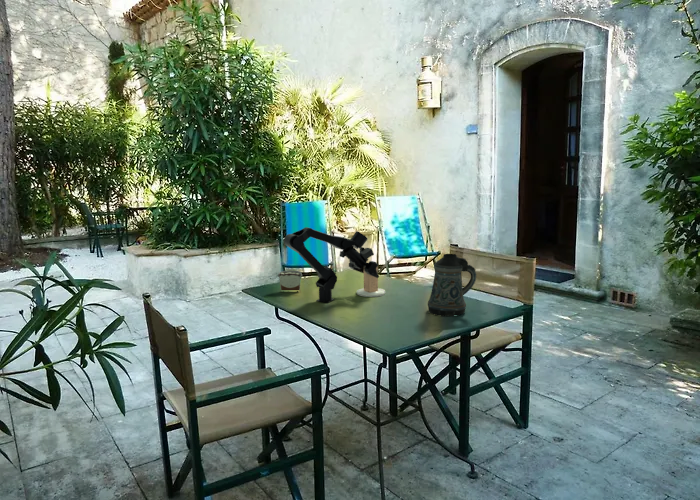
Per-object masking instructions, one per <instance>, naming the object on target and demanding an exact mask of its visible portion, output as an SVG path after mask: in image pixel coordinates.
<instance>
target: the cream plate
mask: <svg viewBox="0 0 700 500" xmlns="http://www.w3.org/2000/svg"><path fill="white" fill-rule="evenodd" d="M385 294H386V290H385V288H379V287H378V291H377V292H371V293H369V292H366V291H364V287H363V288H359V289H357V290H356V295H358V296H360V297H367V298H375V297H377V298H378V297H382V296H385Z"/></svg>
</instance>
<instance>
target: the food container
mask: <svg viewBox="0 0 700 500" xmlns="http://www.w3.org/2000/svg"><path fill="white" fill-rule="evenodd" d="M277 277H278V279H279V280H278V281H279V286H280V287H279V288H280V291H281V290H300V291H301V281H302V280H301V279H302V277H303V274H302V272H301V271H299V270H283V271H282V270H281V271H279V272H278V274H277Z"/></svg>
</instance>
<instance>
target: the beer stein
mask: <svg viewBox="0 0 700 500" xmlns="http://www.w3.org/2000/svg"><path fill="white" fill-rule="evenodd" d="M433 267H434V268H433V269H434V276H433V282H432V283H433V284H432V289H431V292H430V296H429V299H428V301H427V308H428V312H429V314H432V315H434V314H435V316H438V315H441V316H440V317H455V316H454V315H459V316H461V315H460V314H462V315H464V314H465V313H466V308H467V303H466V300H465V298H464V297H465V296H464V295H465V294H467V293H468V292H469V291H470V290H471V289H472V288H473V287H474V285H475V283H476V280H477V272H476V268H475V267H473V266H472V265H471V264H469V262H468V260H467V259H466V258H463V257H458V255H457V254H456V253H444V254H443V256H442V257H441V258H440V259H438V260H437V261H436V262H435V263H434V264H433ZM462 272H463V273H464V272H465V273H466V272H468V273H469V274H470V279H469V281H468V283H466V285H464V287H463V281H462V280H463V279H462ZM464 312H465V313H464ZM463 313H464V314H463Z"/></svg>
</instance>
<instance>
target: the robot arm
mask: <svg viewBox="0 0 700 500" xmlns="http://www.w3.org/2000/svg"><path fill="white" fill-rule="evenodd" d="M309 238H312V239H315V240H319V241H322V242H325V243H327V244H328V245H330V246H332V247H334V248H335V249H339V250H340V251H339V257H341V258H345V257H346V258H347V259H348V262H349V263H348V267H349V269H351V270H354V271H356V272H359V273H361V274H364V271H365V272H366V273H367V274H369V275H371V276H374V277H376V278H378V279H379V277H380V275H379V272H378V273H377V270H376V268H377V266H378V267H379V264H378V263H377V262H376V261H373V260H369V258H371V257H372V256H374V254H375V253H374V251H373V249H372V248H370V247H363V246H364V244H366V242H368V237H367V236H366V235H364V234H363V233H361V232H360V231H358V230H357V231H355V232H354V234H353V235H352V237H351V238H347V237H343V236H338V235H330V234H328V233H325V232H322V231H320V230H319V231H318V230H315V229H313V228H311V227H308V226H306V227H304V228H302V229H299V230H297V231H294V232H293V233H288V234H286V235H285V237H284V239H283V244H284V245H285V246H286V247H287V248H289V249H290V250H292V251H294V252H296V253H297V254H298V255H299V256H300V257H301V258H302V259H303V260H304V261H305V262H306V263H307V264H308V266H310V267H311V268H312V269H313V270H314V271H315V272H316V275H317V277H318V279H317V281H315V285H316V288H318V299H316V302H317V301H318V302H319V303H328V304H329V303H330V302H333V301H335V300H336V299H335V298H333V295H332V294H333V291H332V290H334V289H335V286H336V283H337V282H338V281H337V280H338V276H337V273H336V272H335V271H334V270H333V269H332V268H331V267H329V266H326V265H325V266H324V265H323V264H322V263H321V262H320V261H319V260H318V259H317V258H316V257H315V256H314V255H313V254H312V253H311V252H310V250H308V249H307V247H306V245H305V242H306V241H307V240H308V239H309ZM358 249H359V251H358ZM364 267H365V268H364Z"/></svg>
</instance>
